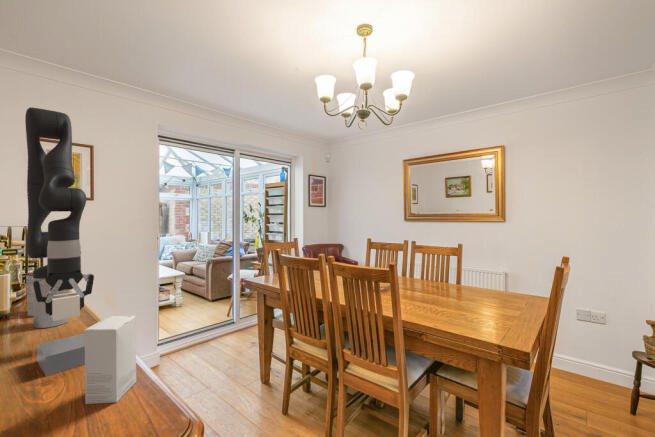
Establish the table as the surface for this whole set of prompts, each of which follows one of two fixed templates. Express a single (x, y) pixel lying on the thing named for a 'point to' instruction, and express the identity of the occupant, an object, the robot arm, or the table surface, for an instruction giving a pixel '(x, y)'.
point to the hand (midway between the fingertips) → (65, 311)
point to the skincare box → (110, 359)
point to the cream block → (65, 306)
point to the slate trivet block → (61, 354)
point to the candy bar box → (30, 295)
